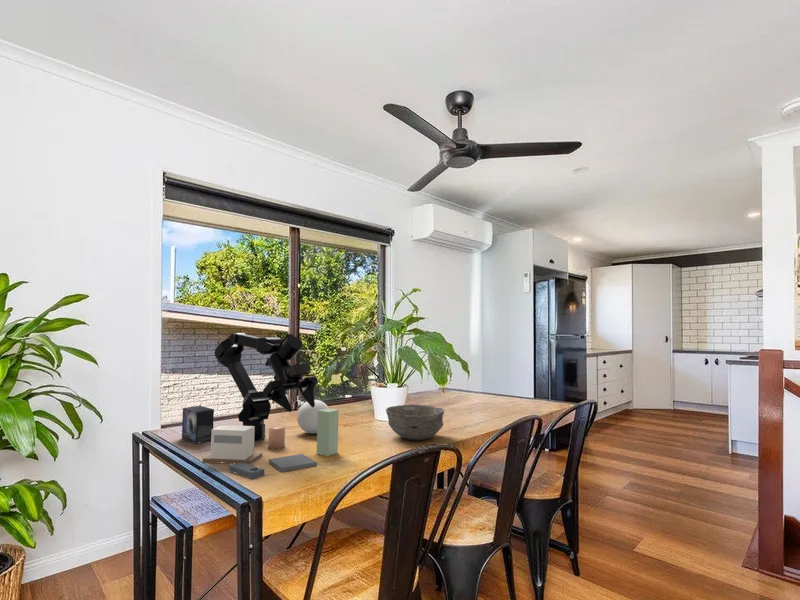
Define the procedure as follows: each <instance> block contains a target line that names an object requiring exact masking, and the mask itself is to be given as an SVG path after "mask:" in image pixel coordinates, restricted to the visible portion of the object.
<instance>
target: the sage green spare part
mask: <svg viewBox="0 0 800 600" xmlns="http://www.w3.org/2000/svg"><path fill="white" fill-rule="evenodd" d="M339 411H340V410H339V409H336V408H335V409H334V408H329V409H328V408H327V409H322V410H318V419H317V433H316V455H319V454H320V456H324V455H325V457H330V455H331V456H333V455H336V454H338V452H339V417H340V416H339V414H340V412H339ZM335 453H336V454H335ZM332 454H333V455H332Z"/></svg>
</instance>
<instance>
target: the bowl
mask: <svg viewBox="0 0 800 600" xmlns="http://www.w3.org/2000/svg"><path fill="white" fill-rule="evenodd" d="M385 413H386V415H387V420H388V426H389V427H390V428H391V429H392V431H393V432H394V433H395V434H396V435H398V436H400V437H401V438H403V439H405V440H409V441H414V440H416V441H417V440H421V441H425V439H426V440H428V439H431V438H432V437H434V436H435V435H436V434H437V433H438V432H439V431H441V429H442V428H443V426H444V422H443V419H444V418H443V416H444V413H445V410H444V408H442V407H435V406H432V405H428V404H427V405H426V404H399V405H395V406H394V405H392V406H388V407H387V408H385ZM416 441H415V442H416Z"/></svg>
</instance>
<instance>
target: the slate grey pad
mask: <svg viewBox="0 0 800 600" xmlns="http://www.w3.org/2000/svg"><path fill="white" fill-rule="evenodd" d="M268 463H269V464H270V465H271V466H273V467H275V469H277V470H278V471H280V472H281V473H284V472H290V471H296V470H301V469H307V468H311V467H317V466H318V462H317V461H316V460H314V459H312V458H310V457H309V456H307V455H305V454H303V453H298V454H292V455H285V456H279V457H278V456H277V457H273V458H269V459H268Z"/></svg>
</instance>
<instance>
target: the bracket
mask: <svg viewBox="0 0 800 600" xmlns="http://www.w3.org/2000/svg"><path fill="white" fill-rule="evenodd" d="M229 470H230V471H233V472H236V473H238V474H237V475H239V474H240V475H239V476H242V475H243V476H242V477H245V478H247V477H248V479H250V478H251V480H253V478H254V479H257V478H259V477H263V476H265V474H266V473H265V471H266V470H265V468H262V467H259V466H255V465H252V464H246V463H243V462H239V463H235V464H229V465H228V471H229ZM230 471H229V472H230ZM233 472H232V473H233ZM236 473H235V474H236Z"/></svg>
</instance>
